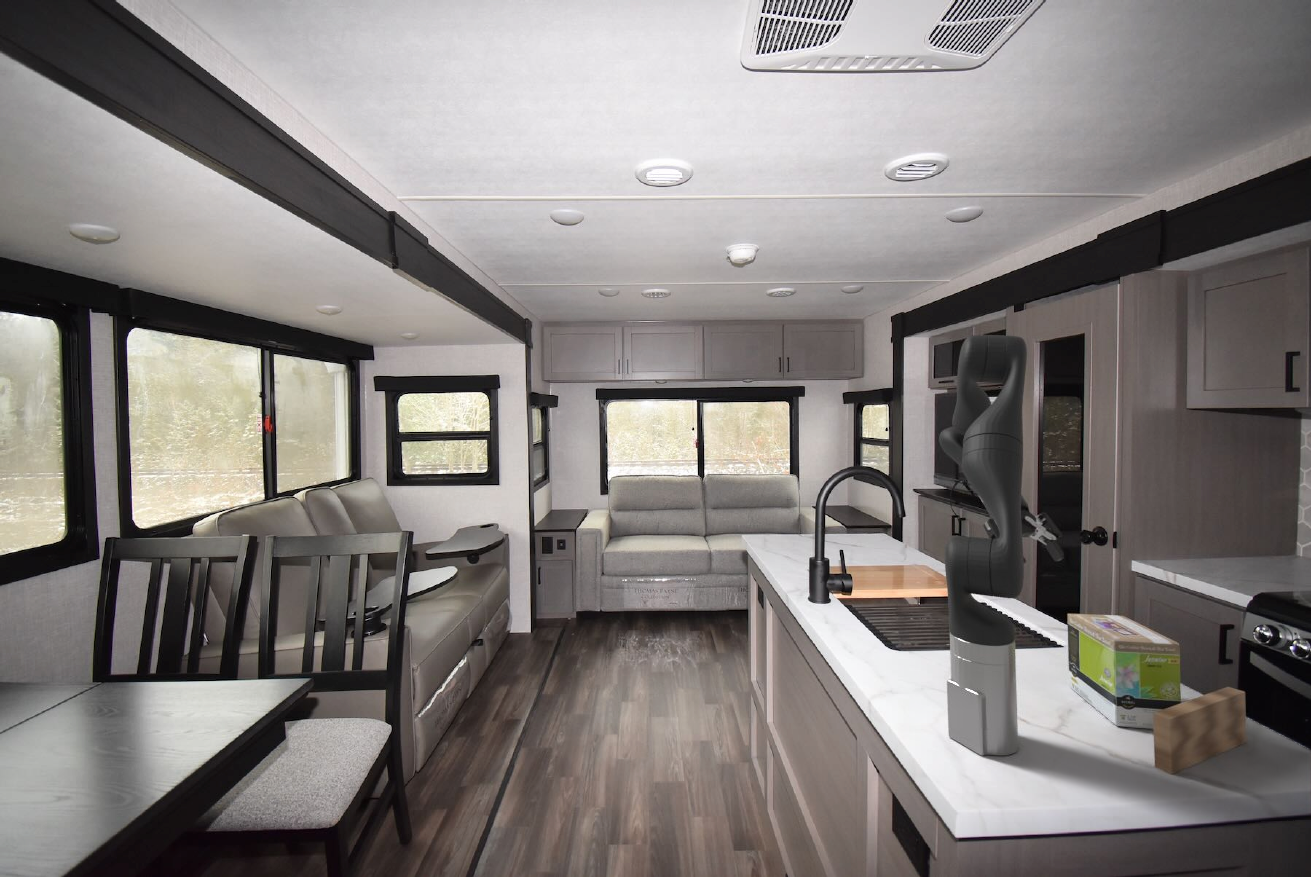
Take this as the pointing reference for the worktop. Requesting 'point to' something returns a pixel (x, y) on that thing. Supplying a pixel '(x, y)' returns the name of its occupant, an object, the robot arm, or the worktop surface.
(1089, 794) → the worktop surface
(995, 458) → the robot arm
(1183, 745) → the wooden block
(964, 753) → the worktop surface
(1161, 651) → the tea box
